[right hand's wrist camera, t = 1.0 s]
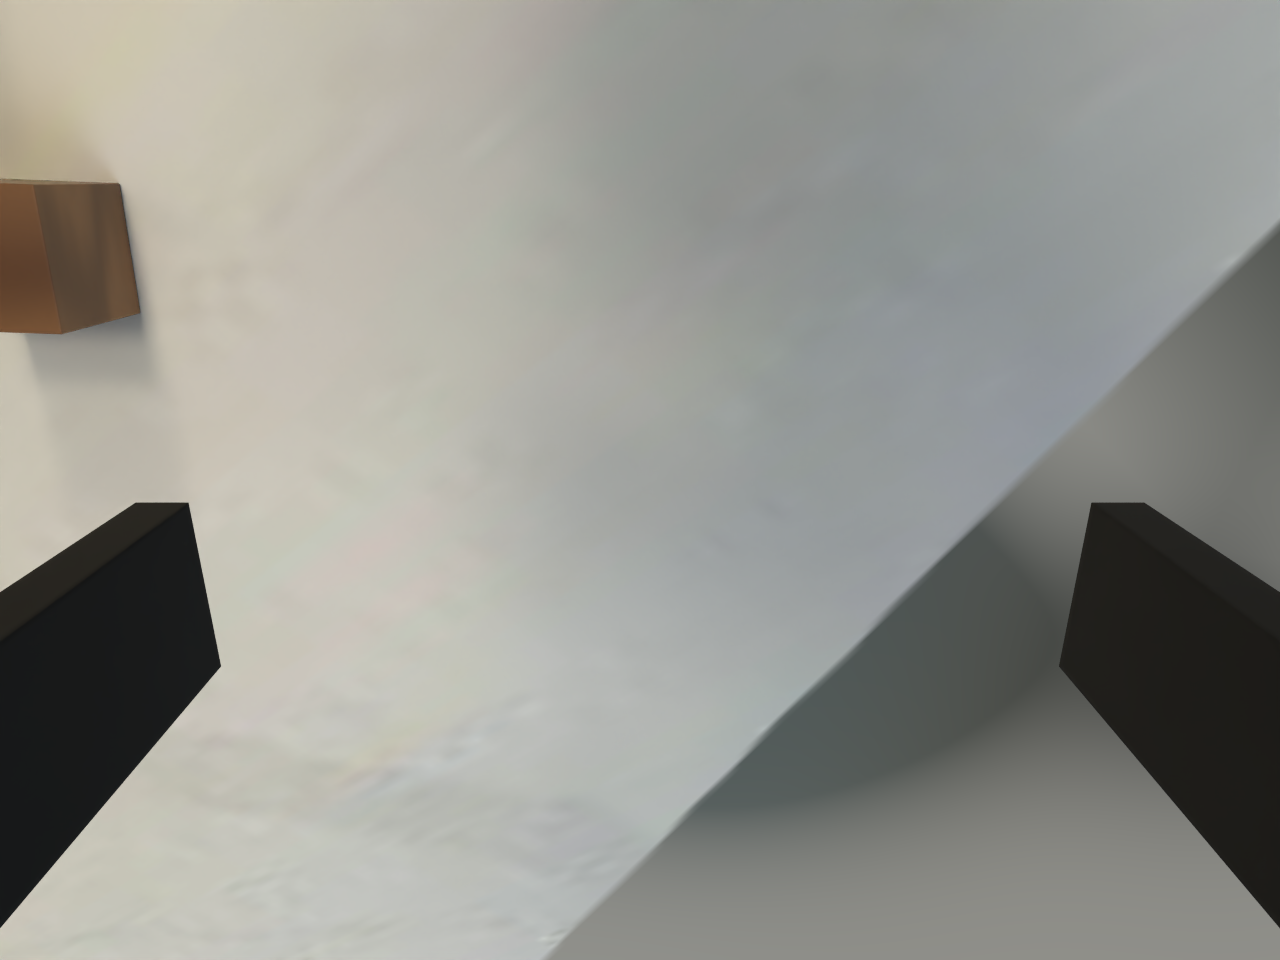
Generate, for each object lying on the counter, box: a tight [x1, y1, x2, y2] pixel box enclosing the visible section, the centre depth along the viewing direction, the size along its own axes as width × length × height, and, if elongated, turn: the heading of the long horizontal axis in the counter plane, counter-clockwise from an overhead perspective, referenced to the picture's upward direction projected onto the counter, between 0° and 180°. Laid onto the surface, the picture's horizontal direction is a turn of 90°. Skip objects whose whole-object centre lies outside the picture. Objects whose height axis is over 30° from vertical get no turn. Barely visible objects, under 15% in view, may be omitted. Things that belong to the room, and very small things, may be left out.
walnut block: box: [0, 179, 140, 334], centre depth 31 cm, size 5×5×5 cm
